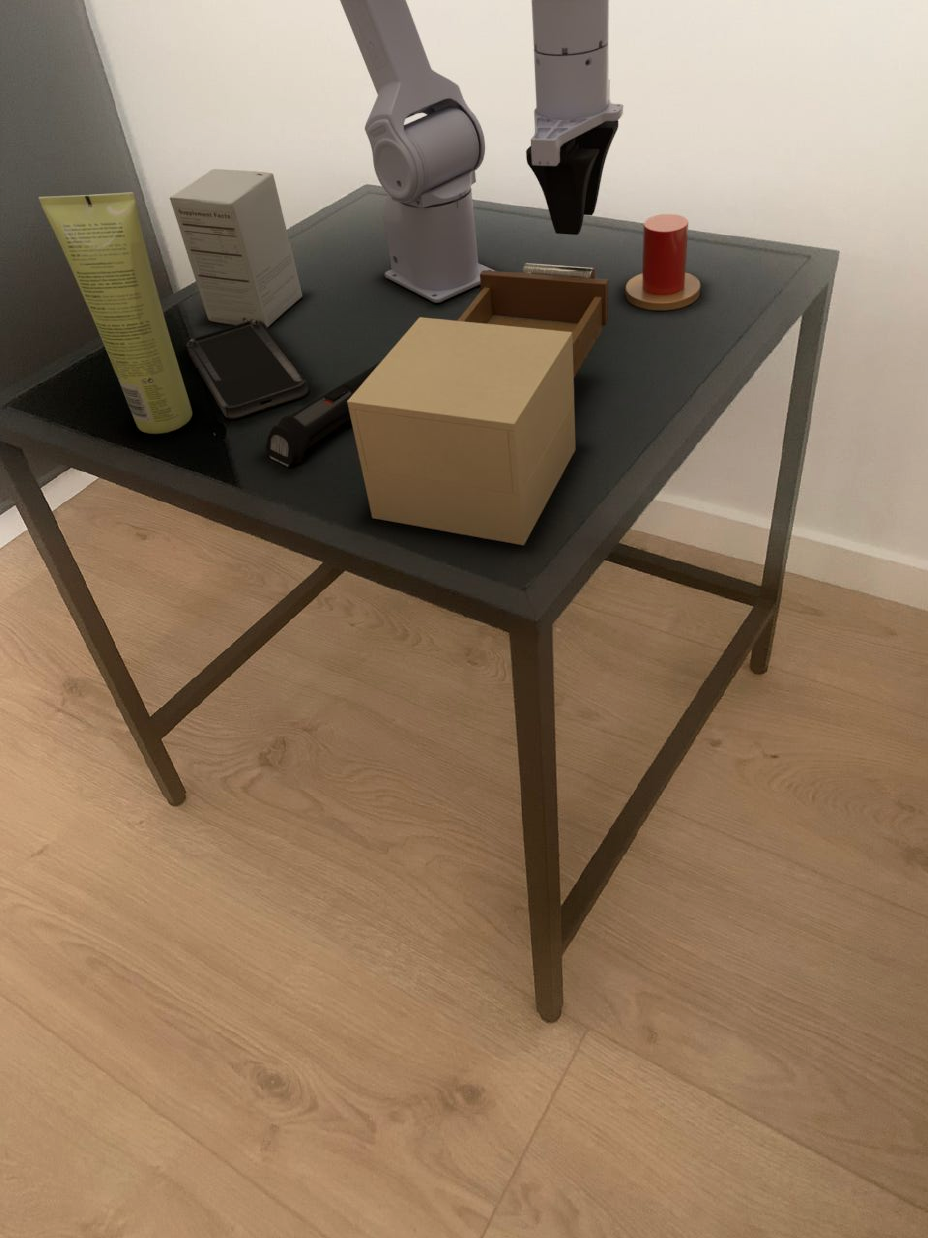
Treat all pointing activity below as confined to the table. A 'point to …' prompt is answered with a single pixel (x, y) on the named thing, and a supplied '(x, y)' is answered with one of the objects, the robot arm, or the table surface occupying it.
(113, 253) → the tube
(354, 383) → the electric trimmer
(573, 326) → the drawer
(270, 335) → the phone
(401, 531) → the table surface
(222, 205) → the white packaging box
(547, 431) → the little tan box
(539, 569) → the table surface
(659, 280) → the red upright cylinder
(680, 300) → the cork coaster
